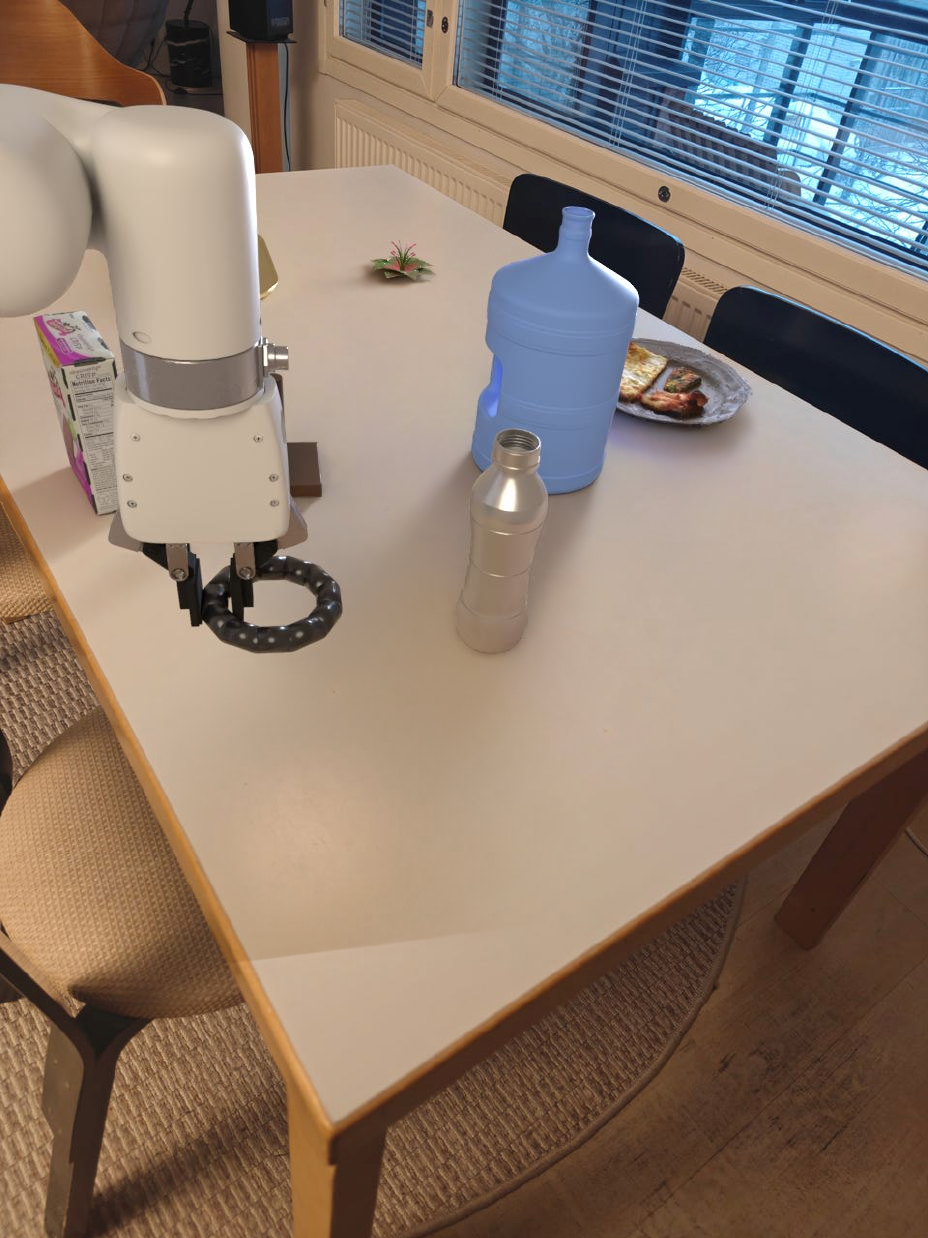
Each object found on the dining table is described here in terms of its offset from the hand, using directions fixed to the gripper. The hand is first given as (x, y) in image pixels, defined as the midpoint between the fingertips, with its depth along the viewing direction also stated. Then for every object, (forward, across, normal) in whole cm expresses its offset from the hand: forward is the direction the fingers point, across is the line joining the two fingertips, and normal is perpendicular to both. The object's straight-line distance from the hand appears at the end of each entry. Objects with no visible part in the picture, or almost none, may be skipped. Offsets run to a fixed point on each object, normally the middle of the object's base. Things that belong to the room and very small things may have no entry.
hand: (218, 611), depth 60 cm
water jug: (+11, -34, -38) cm, 52 cm away
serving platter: (+12, +4, -99) cm, 100 cm away
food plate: (+10, -56, -56) cm, 80 cm away
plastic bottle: (+11, -22, -8) cm, 26 cm away
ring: (-1, -4, 0) cm, 4 cm away
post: (+11, -4, -36) cm, 38 cm away
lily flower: (+11, -26, -100) cm, 104 cm away
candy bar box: (+12, +13, -34) cm, 39 cm away
